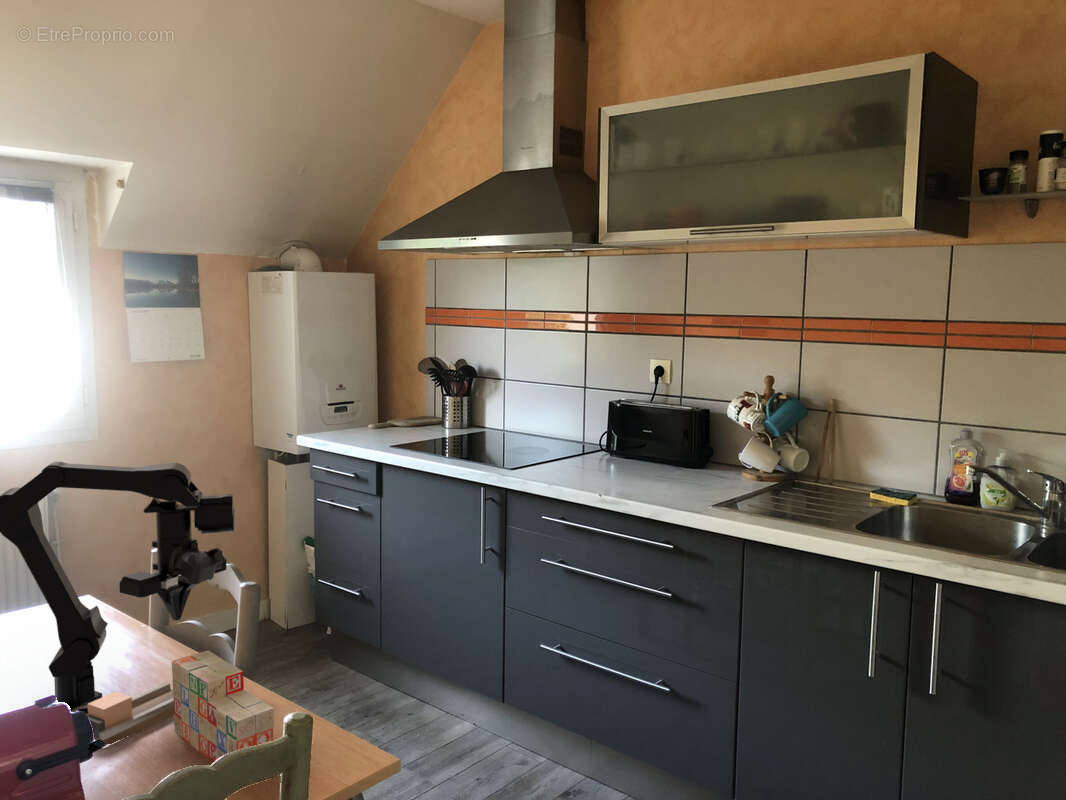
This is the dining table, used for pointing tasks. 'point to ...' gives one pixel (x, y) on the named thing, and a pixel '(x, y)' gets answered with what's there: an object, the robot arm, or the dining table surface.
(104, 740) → the track
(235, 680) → the stack of blocks
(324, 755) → the dining table surface
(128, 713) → the block
